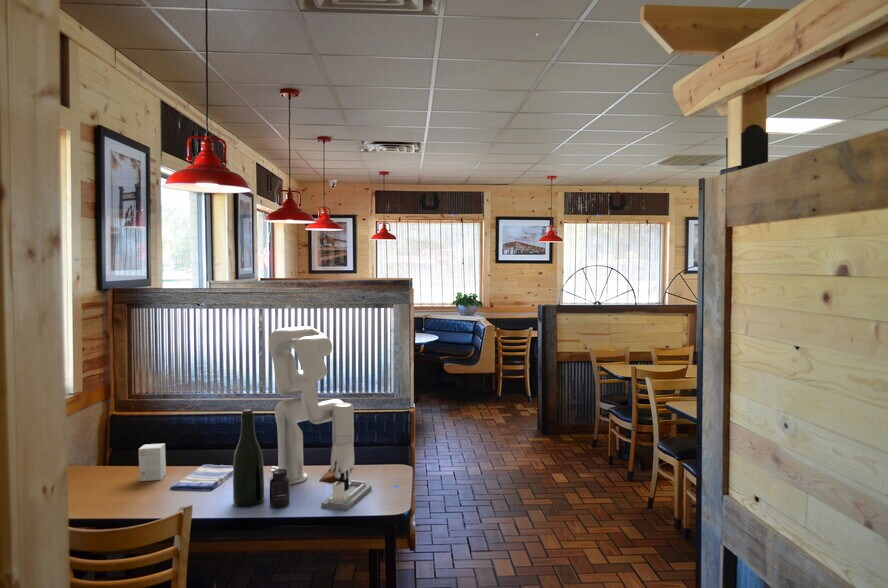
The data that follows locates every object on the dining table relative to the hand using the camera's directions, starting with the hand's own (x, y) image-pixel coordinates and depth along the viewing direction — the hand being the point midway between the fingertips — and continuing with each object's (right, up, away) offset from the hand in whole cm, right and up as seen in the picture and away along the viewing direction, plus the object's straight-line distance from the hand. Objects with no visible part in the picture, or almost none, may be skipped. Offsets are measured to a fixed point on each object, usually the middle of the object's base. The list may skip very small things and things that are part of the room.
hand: (343, 489), depth 199 cm
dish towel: (-58, -5, +23) cm, 63 cm away
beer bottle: (-34, -5, 0) cm, 34 cm away
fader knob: (-1, -3, -4) cm, 5 cm away
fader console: (+1, -4, +3) cm, 5 cm away
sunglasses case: (-8, -4, +27) cm, 28 cm away
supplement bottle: (-22, -5, -3) cm, 22 cm away
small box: (-81, -4, +24) cm, 84 cm away
